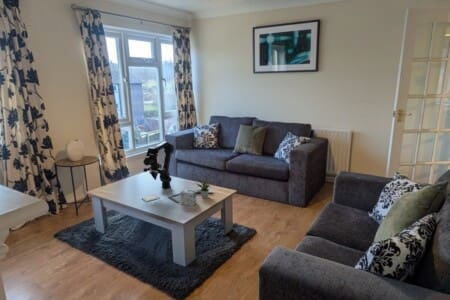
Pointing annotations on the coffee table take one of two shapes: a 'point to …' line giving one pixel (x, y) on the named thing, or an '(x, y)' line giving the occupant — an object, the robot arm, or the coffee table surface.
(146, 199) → the label plate
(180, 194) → the label frame
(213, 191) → the coffee table surface
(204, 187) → the house plant
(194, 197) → the light bulb box
